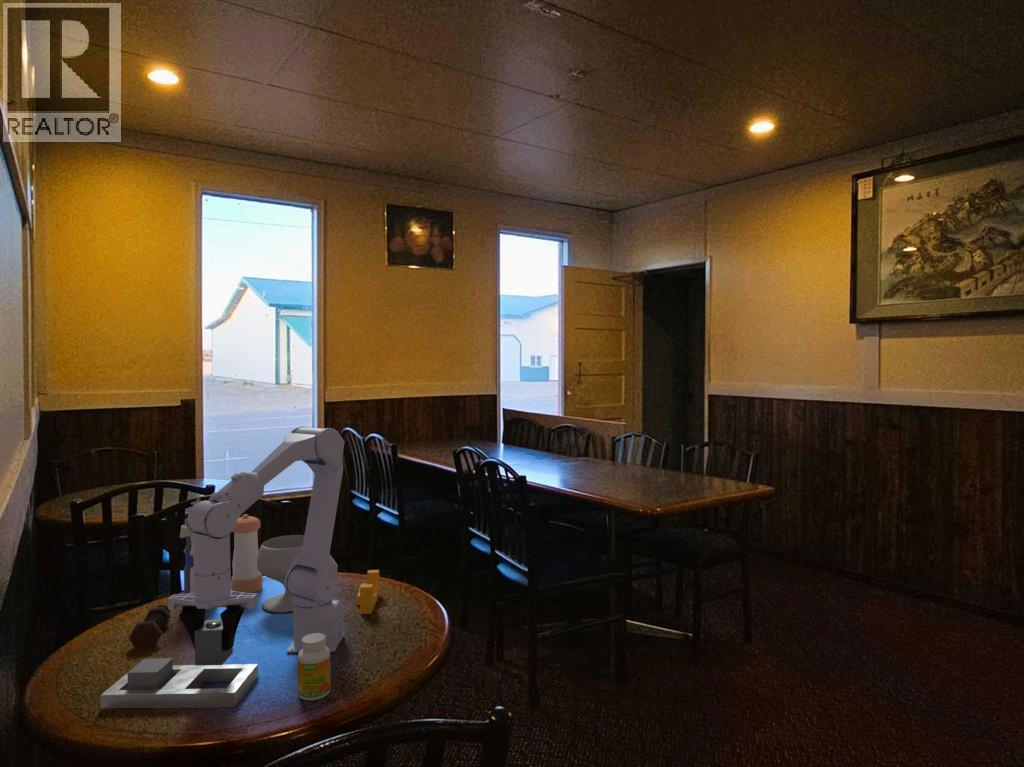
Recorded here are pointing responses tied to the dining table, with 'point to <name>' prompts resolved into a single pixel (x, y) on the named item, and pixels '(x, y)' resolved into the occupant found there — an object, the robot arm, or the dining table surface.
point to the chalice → (278, 567)
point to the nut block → (210, 644)
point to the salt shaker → (246, 556)
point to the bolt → (150, 628)
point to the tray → (186, 688)
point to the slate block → (150, 674)
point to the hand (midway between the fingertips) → (214, 648)
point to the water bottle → (189, 559)
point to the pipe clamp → (369, 592)
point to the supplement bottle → (314, 668)
